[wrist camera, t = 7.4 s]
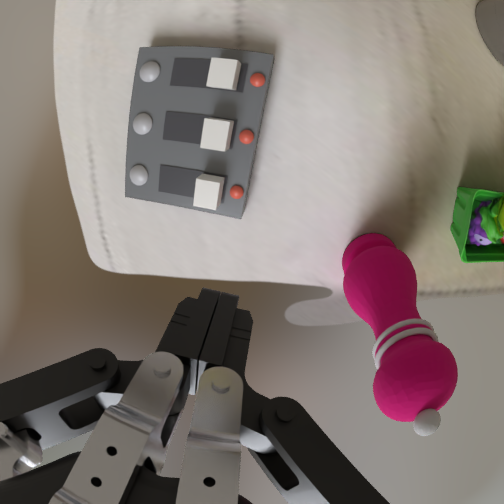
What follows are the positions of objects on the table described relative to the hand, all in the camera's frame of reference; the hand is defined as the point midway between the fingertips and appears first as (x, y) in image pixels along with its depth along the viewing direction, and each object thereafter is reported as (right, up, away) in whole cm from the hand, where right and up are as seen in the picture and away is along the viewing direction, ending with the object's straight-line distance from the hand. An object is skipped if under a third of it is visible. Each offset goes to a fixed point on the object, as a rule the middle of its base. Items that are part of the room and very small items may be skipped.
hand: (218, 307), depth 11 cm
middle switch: (-1, +12, +10) cm, 16 cm away
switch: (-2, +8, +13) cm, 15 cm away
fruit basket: (+27, +8, +12) cm, 31 cm away
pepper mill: (+14, +2, +17) cm, 22 cm away
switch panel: (-4, +14, +12) cm, 19 cm away
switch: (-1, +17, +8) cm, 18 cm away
